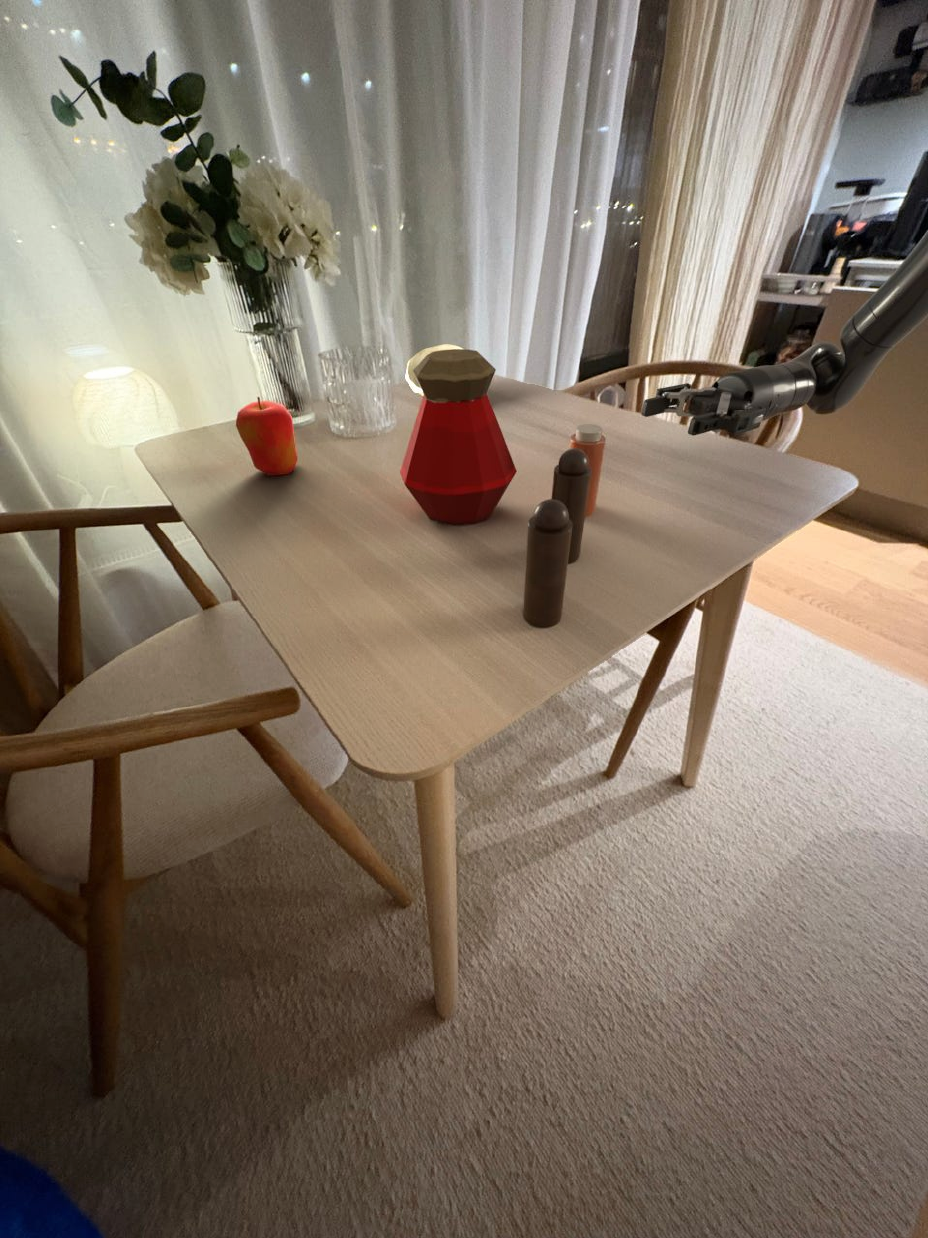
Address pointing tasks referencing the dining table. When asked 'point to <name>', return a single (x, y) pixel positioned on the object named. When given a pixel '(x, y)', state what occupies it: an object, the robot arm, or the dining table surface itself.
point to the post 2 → (573, 493)
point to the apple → (268, 436)
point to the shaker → (590, 457)
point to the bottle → (456, 441)
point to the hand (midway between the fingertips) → (666, 417)
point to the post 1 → (546, 563)
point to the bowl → (417, 359)
